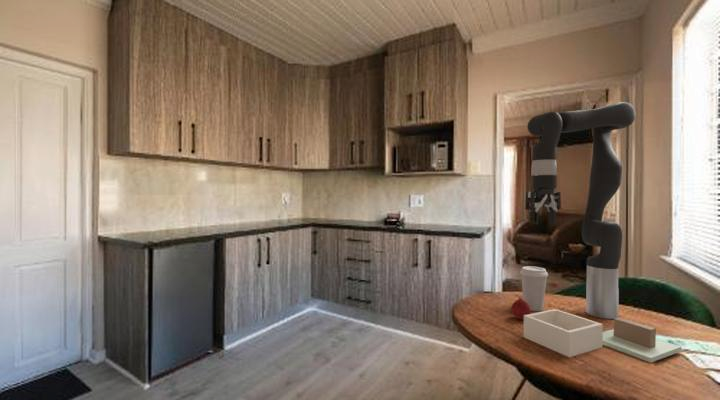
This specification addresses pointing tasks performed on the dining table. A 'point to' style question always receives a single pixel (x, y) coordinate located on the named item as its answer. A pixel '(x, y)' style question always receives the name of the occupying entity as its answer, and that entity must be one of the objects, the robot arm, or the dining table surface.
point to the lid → (637, 341)
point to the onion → (520, 308)
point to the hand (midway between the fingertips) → (543, 223)
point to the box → (563, 332)
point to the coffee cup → (534, 286)
